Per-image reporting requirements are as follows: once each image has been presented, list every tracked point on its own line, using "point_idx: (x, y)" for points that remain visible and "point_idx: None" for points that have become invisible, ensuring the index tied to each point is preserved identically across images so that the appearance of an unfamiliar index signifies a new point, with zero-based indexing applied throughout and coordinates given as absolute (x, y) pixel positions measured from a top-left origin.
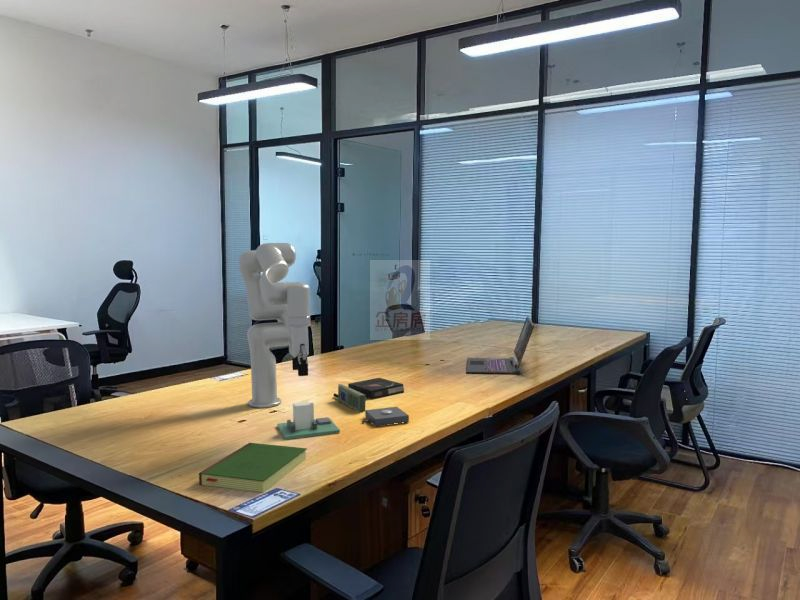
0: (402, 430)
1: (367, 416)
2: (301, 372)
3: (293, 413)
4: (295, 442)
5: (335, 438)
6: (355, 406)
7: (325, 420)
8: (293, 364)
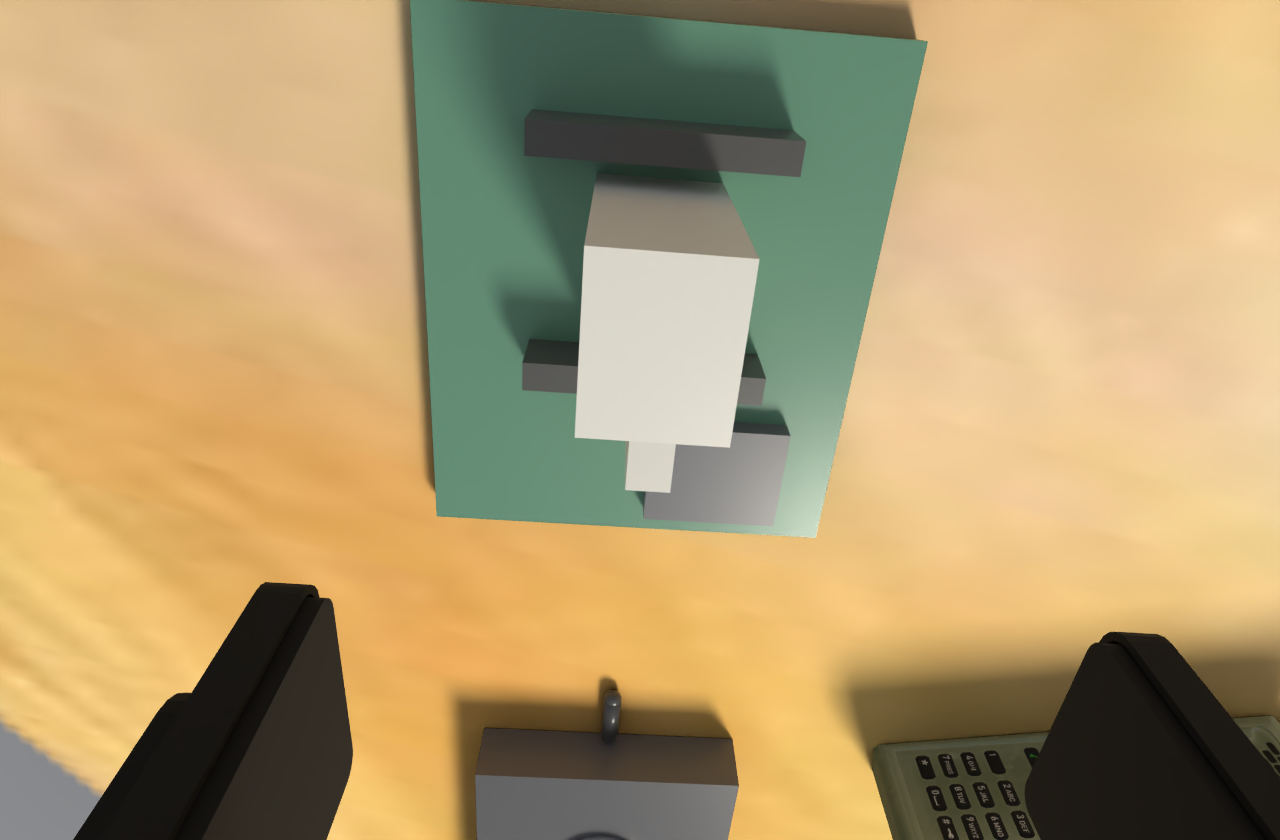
0: (349, 814)
1: (681, 753)
2: (156, 715)
3: (706, 219)
4: (303, 84)
5: (312, 435)
6: (950, 763)
7: (687, 488)
8: (1187, 776)
